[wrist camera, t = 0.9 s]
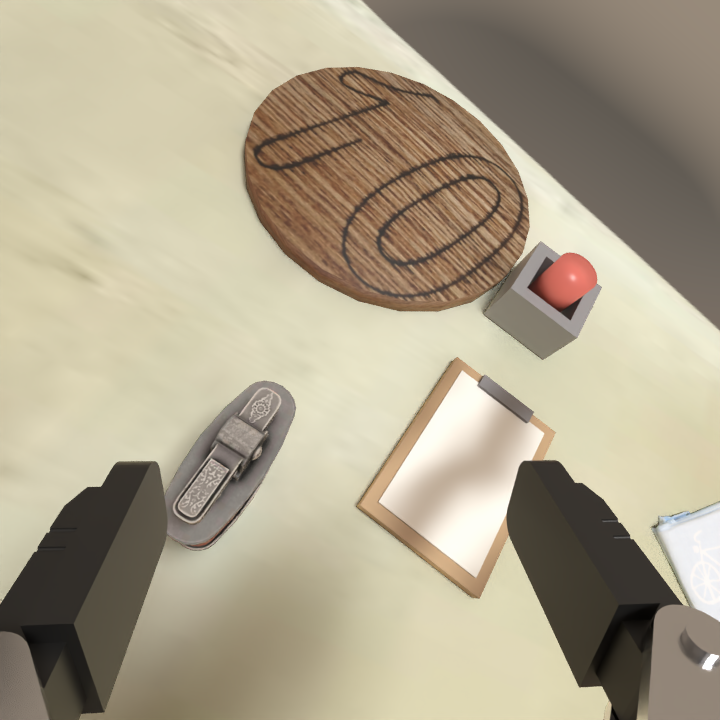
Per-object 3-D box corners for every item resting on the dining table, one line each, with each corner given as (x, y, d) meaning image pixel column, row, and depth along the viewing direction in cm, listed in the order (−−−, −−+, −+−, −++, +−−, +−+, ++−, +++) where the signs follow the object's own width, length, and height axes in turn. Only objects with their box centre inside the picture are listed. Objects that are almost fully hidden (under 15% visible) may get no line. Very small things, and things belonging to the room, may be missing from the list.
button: (518, 301, 36) (552, 271, 33) (533, 276, 38) (567, 245, 34) (550, 326, 36) (588, 298, 33) (564, 300, 38) (602, 271, 34)
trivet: (176, 146, 36) (174, 125, 35) (382, 56, 48) (388, 37, 46) (401, 376, 34) (411, 366, 32) (562, 222, 45) (575, 208, 44)
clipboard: (356, 506, 29) (362, 503, 28) (452, 361, 35) (460, 354, 34) (472, 597, 28) (483, 598, 27) (548, 435, 35) (559, 430, 34)
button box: (483, 314, 38) (510, 288, 34) (512, 269, 40) (540, 241, 37) (543, 359, 37) (577, 337, 34) (568, 311, 40) (601, 287, 37)
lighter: (244, 412, 29) (257, 345, 20) (290, 441, 29) (322, 387, 20) (157, 530, 25) (126, 510, 17) (210, 563, 25) (206, 561, 17)
